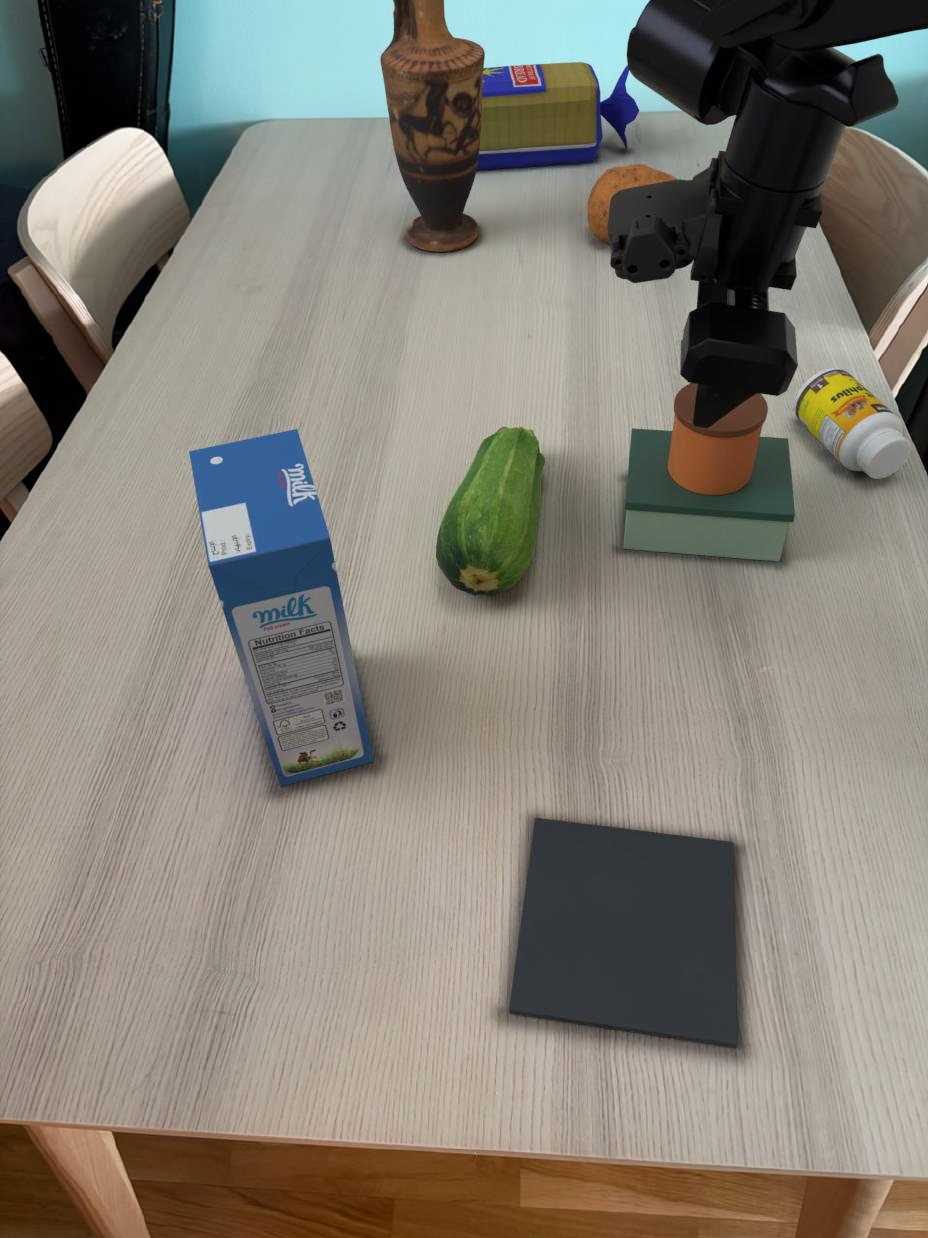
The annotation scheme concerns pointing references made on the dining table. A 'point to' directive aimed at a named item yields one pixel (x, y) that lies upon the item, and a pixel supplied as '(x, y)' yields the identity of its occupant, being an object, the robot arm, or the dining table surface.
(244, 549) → the milk carton
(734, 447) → the round tub
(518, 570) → the vegetable
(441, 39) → the vase
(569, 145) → the bread
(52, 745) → the dining table surface
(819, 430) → the supplement bottle
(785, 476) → the storage box
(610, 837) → the mat
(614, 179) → the potato
